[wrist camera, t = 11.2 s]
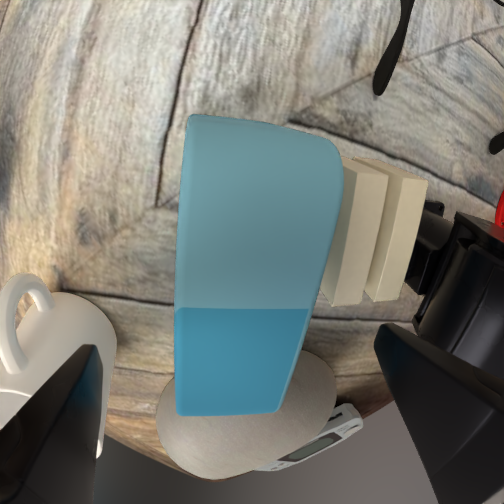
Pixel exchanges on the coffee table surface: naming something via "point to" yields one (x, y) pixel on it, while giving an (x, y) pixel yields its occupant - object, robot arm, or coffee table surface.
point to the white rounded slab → (249, 426)
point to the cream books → (373, 232)
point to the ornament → (500, 212)
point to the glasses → (391, 58)
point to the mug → (47, 342)
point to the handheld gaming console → (322, 437)
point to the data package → (248, 260)
